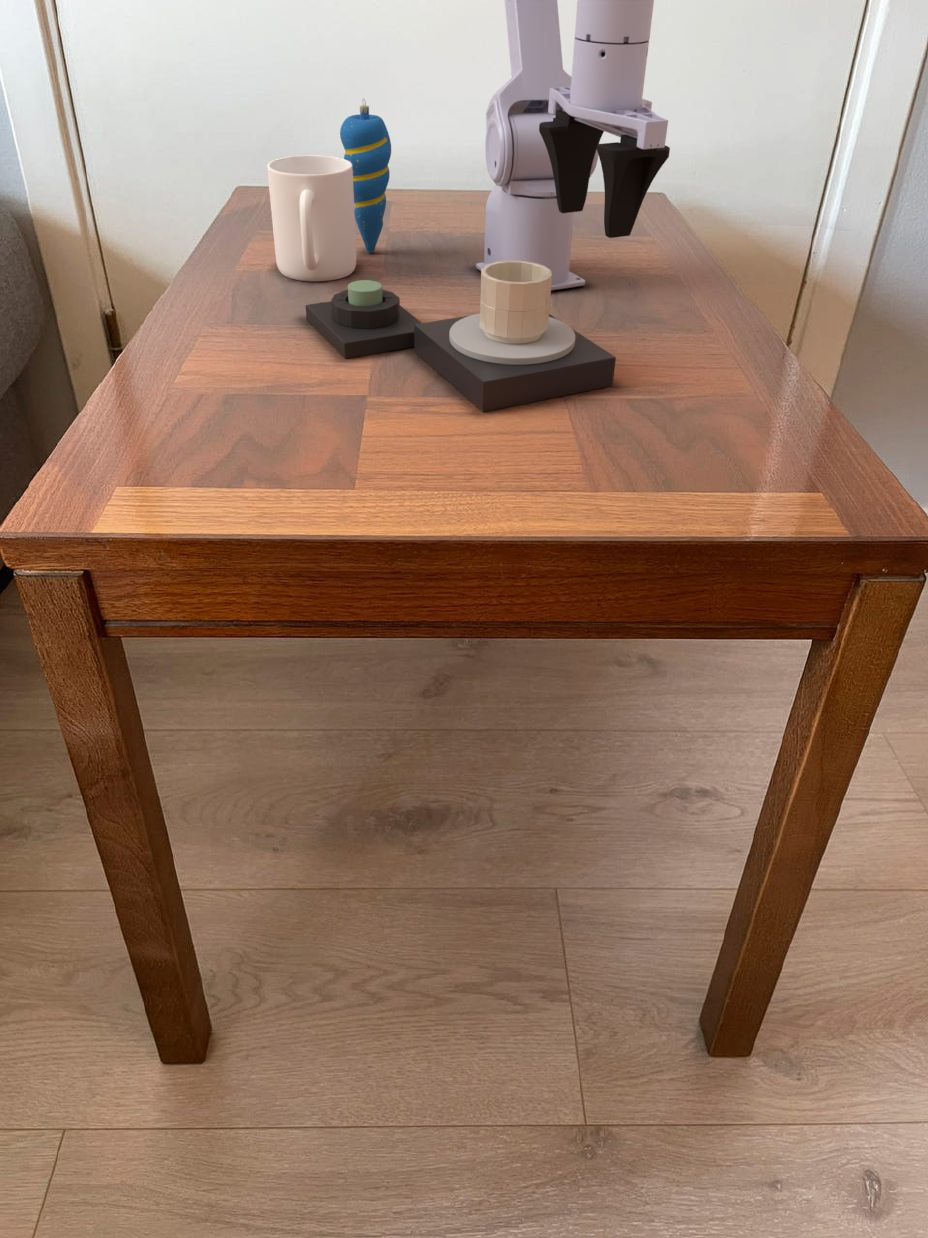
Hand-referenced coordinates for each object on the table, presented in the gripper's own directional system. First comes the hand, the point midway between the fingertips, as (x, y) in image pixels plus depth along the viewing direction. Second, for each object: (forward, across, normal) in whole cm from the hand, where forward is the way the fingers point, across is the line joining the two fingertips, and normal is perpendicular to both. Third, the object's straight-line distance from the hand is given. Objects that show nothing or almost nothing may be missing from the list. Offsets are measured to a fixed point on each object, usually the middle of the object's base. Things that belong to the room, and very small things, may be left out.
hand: (593, 223), depth 83 cm
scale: (+10, -5, +10) cm, 15 cm away
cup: (+10, +24, +17) cm, 31 cm away
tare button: (+7, +8, +18) cm, 21 cm away
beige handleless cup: (+6, -5, +10) cm, 13 cm away
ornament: (+10, +29, +9) cm, 32 cm away
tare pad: (+10, +8, +18) cm, 22 cm away
